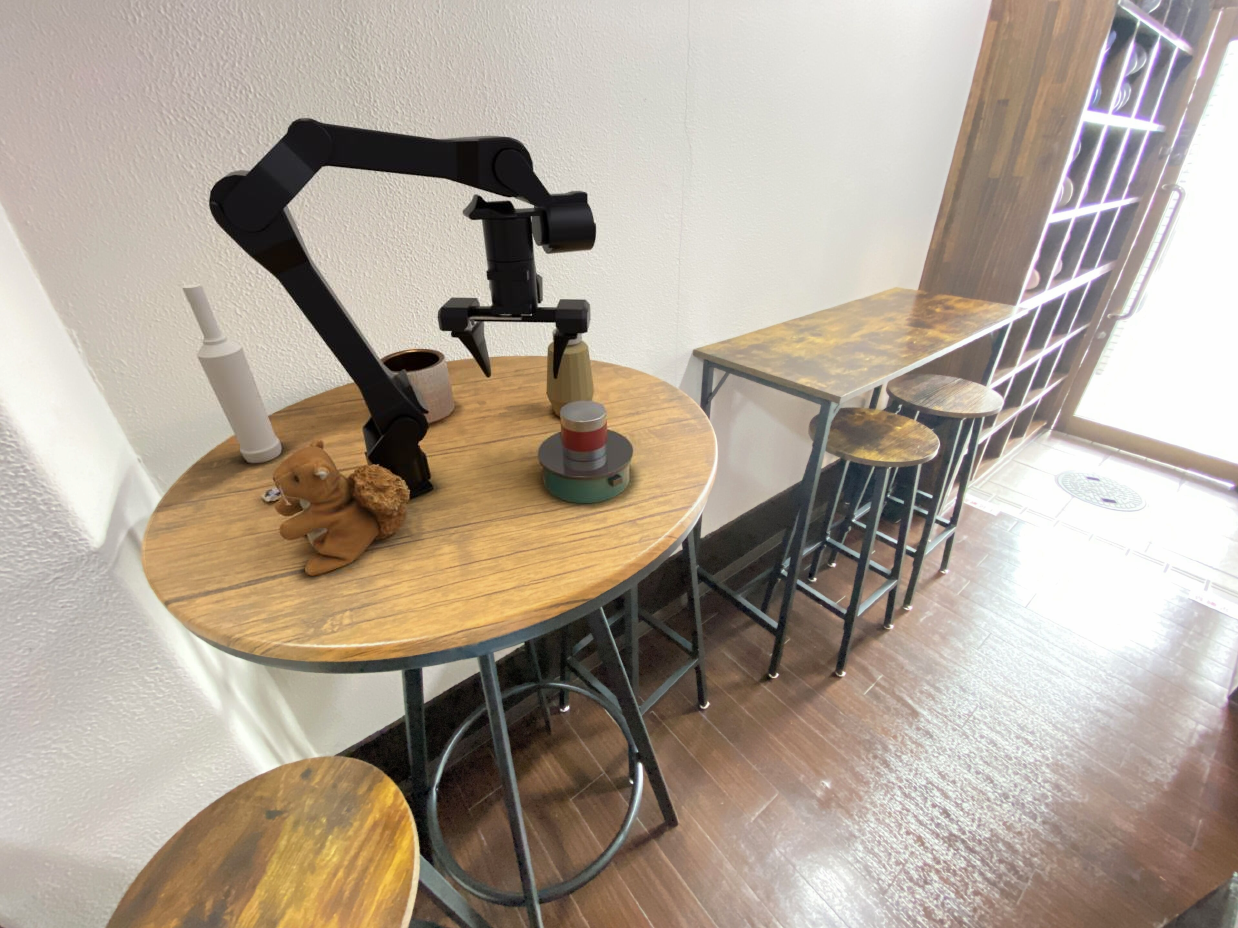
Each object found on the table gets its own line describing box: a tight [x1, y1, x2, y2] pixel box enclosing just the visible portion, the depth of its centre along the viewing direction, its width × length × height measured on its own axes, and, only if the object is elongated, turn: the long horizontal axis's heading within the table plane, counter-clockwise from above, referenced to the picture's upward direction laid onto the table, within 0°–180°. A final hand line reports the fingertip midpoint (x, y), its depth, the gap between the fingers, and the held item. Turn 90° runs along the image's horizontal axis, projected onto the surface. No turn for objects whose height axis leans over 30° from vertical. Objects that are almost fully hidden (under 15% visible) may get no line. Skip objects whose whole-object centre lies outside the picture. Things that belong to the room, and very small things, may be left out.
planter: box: [380, 348, 455, 425], centre depth 89 cm, size 11×11×10 cm
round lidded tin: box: [537, 428, 634, 504], centre depth 74 cm, size 13×14×5 cm
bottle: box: [181, 283, 283, 464], centre depth 74 cm, size 5×5×25 cm
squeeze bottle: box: [545, 327, 595, 418], centre depth 87 cm, size 8×8×18 cm
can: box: [560, 400, 608, 461], centre depth 71 cm, size 6×6×6 cm
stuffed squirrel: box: [272, 438, 410, 577], centre depth 61 cm, size 10×14×13 cm
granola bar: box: [260, 486, 282, 502], centre depth 72 cm, size 7×2×1 cm, turn 140°
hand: (522, 377), depth 73 cm, fingers open, 9 cm apart
